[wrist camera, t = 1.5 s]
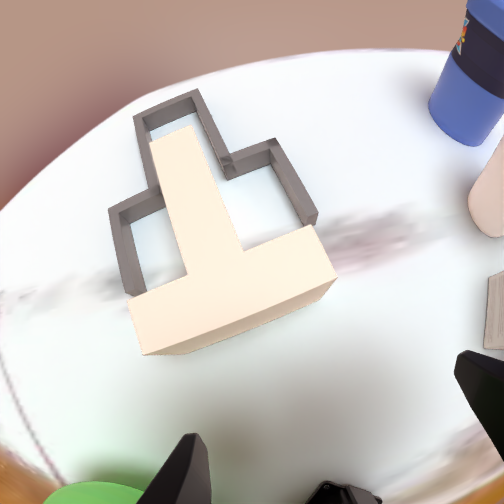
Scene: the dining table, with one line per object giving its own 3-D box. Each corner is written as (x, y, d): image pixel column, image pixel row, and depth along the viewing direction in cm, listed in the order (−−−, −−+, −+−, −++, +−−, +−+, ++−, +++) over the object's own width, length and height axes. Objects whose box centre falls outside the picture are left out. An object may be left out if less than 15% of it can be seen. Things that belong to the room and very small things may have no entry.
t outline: (315, 224, 26) (318, 212, 23) (138, 297, 25) (125, 292, 23) (237, 90, 32) (234, 75, 30) (108, 145, 31) (99, 133, 29)
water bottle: (416, 110, 29) (474, -63, 6) (441, 86, 31) (491, -53, 7) (473, 159, 26) (571, 3, 3) (491, 128, 28) (565, -1, 4)
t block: (319, 299, 24) (337, 277, 16) (184, 354, 23) (143, 355, 16) (253, 162, 28) (243, 105, 21) (141, 210, 28) (101, 166, 20)
